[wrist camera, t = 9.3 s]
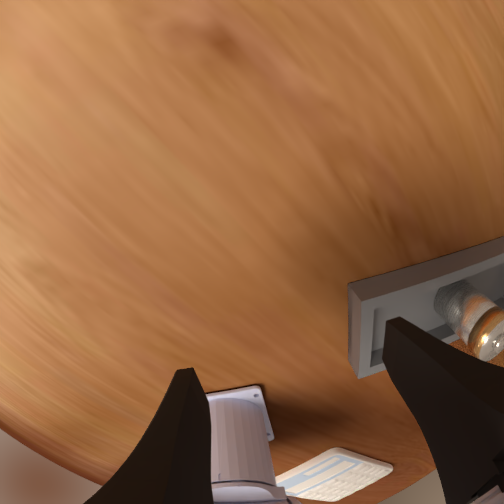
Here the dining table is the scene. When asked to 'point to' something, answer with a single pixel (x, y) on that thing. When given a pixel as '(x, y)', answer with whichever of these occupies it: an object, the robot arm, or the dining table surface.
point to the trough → (416, 299)
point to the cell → (472, 318)
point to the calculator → (332, 475)
